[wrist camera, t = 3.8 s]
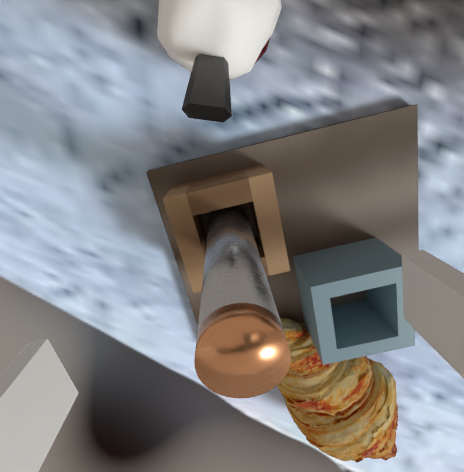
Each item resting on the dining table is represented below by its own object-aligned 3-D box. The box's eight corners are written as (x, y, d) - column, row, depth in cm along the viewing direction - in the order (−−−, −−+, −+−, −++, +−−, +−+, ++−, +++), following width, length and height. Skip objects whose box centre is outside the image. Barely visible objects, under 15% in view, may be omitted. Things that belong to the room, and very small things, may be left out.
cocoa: (204, -70, 18) (178, -427, 6) (292, -7, 19) (406, -208, 8) (142, 87, 20) (46, 37, 9) (223, 133, 22) (229, 140, 10)
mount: (172, 186, 22) (162, 199, 18) (262, 164, 22) (271, 172, 18) (197, 267, 25) (193, 293, 21) (279, 248, 24) (290, 270, 20)
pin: (204, 205, 23) (182, 334, 9) (242, 196, 23) (281, 312, 9) (214, 240, 24) (208, 406, 10) (250, 232, 24) (297, 387, 10)
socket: (292, 256, 25) (310, 287, 20) (375, 237, 24) (413, 263, 20) (304, 323, 27) (323, 365, 22) (380, 307, 27) (414, 345, 22)
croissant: (245, 306, 31) (215, 378, 25) (331, 281, 25) (319, 369, 19) (348, 416, 37) (344, 495, 31) (439, 419, 31) (455, 517, 25)
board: (148, 170, 22) (146, 171, 22) (410, 105, 22) (417, 104, 21) (206, 344, 28) (206, 349, 28) (413, 298, 27) (418, 303, 27)
